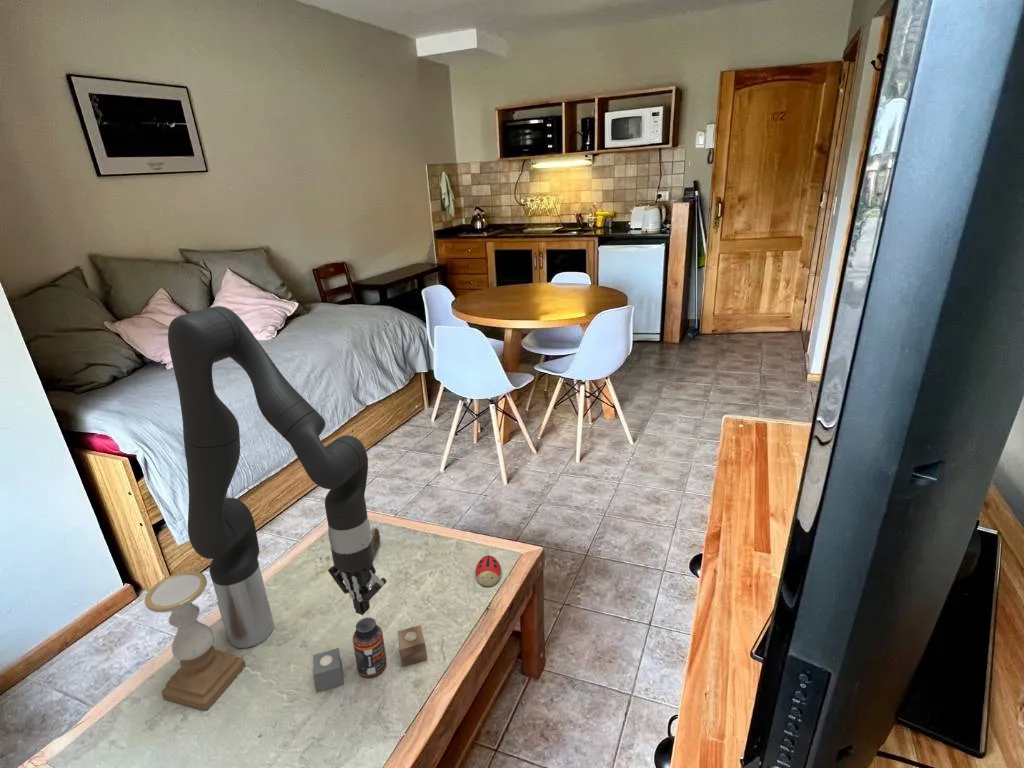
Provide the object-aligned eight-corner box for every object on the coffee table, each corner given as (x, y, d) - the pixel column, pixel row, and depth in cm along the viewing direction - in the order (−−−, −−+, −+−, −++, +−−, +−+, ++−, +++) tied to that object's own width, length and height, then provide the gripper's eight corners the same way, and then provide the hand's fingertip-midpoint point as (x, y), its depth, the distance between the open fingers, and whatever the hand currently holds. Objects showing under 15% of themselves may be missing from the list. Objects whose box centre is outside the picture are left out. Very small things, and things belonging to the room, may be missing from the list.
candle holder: (247, 664, 114) (221, 573, 105) (207, 711, 104) (175, 615, 96) (204, 654, 117) (176, 565, 108) (161, 699, 107) (126, 604, 98)
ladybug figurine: (475, 589, 133) (474, 577, 132) (475, 562, 142) (474, 551, 141) (502, 587, 133) (501, 575, 132) (500, 560, 143) (500, 549, 141)
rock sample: (344, 531, 150) (362, 518, 145) (368, 539, 154) (386, 527, 150) (338, 567, 143) (357, 555, 138) (364, 574, 147) (382, 563, 142)
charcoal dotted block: (317, 693, 107) (313, 674, 105) (317, 673, 112) (312, 654, 110) (343, 685, 109) (339, 666, 107) (342, 665, 113) (338, 647, 111)
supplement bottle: (379, 681, 109) (372, 638, 105) (352, 676, 111) (344, 634, 107) (391, 656, 115) (385, 615, 111) (365, 652, 116) (358, 611, 112)
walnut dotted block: (403, 667, 112) (400, 648, 110) (399, 649, 117) (397, 630, 115) (427, 660, 114) (424, 641, 112) (422, 642, 118) (420, 624, 116)
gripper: (309, 541, 101) (323, 613, 107) (365, 561, 95) (377, 636, 102) (337, 519, 107) (349, 589, 113) (392, 536, 101) (401, 608, 108)
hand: (362, 611), depth 107 cm, fingers closed
